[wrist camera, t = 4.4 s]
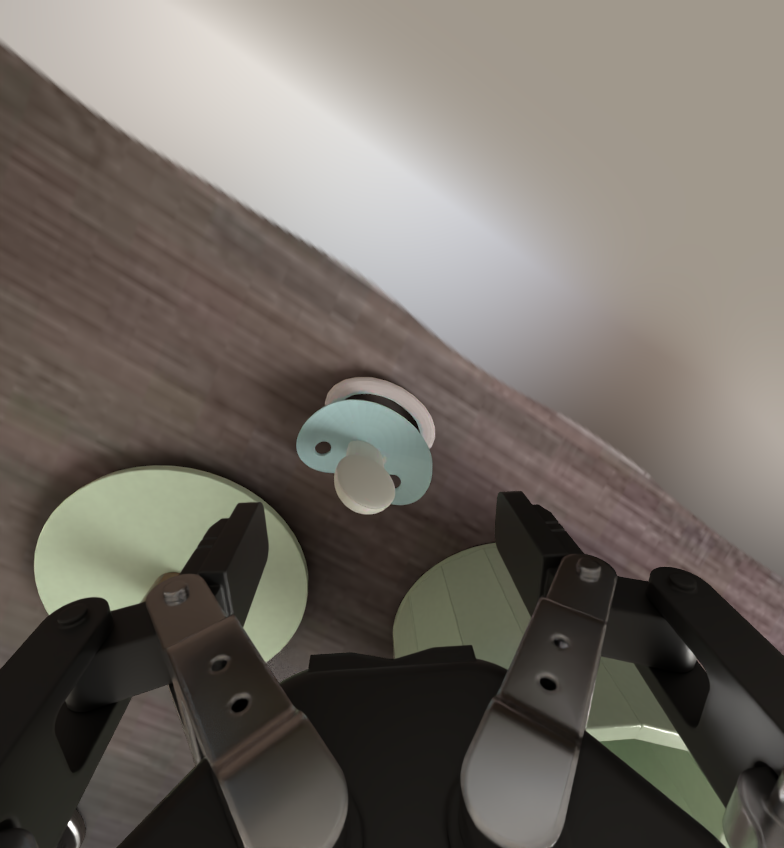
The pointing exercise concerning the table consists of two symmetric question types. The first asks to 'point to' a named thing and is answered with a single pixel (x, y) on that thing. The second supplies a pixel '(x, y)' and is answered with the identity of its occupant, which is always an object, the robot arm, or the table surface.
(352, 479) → the pacifier
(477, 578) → the crock
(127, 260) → the table surface
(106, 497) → the lid
